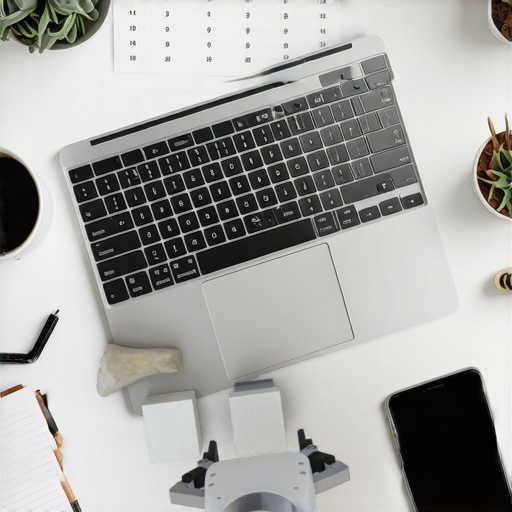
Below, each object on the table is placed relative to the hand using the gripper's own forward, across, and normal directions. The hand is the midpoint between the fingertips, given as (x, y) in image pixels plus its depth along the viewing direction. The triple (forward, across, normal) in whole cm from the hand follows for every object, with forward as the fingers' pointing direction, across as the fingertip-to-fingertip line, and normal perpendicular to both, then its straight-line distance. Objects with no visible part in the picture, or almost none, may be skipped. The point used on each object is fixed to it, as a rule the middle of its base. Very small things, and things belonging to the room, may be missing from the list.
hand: (258, 447), depth 61 cm
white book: (+9, 0, -1) cm, 9 cm away
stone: (+13, -14, +8) cm, 21 cm away
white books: (+12, -11, -1) cm, 17 cm away
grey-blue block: (+12, 0, -1) cm, 12 cm away
